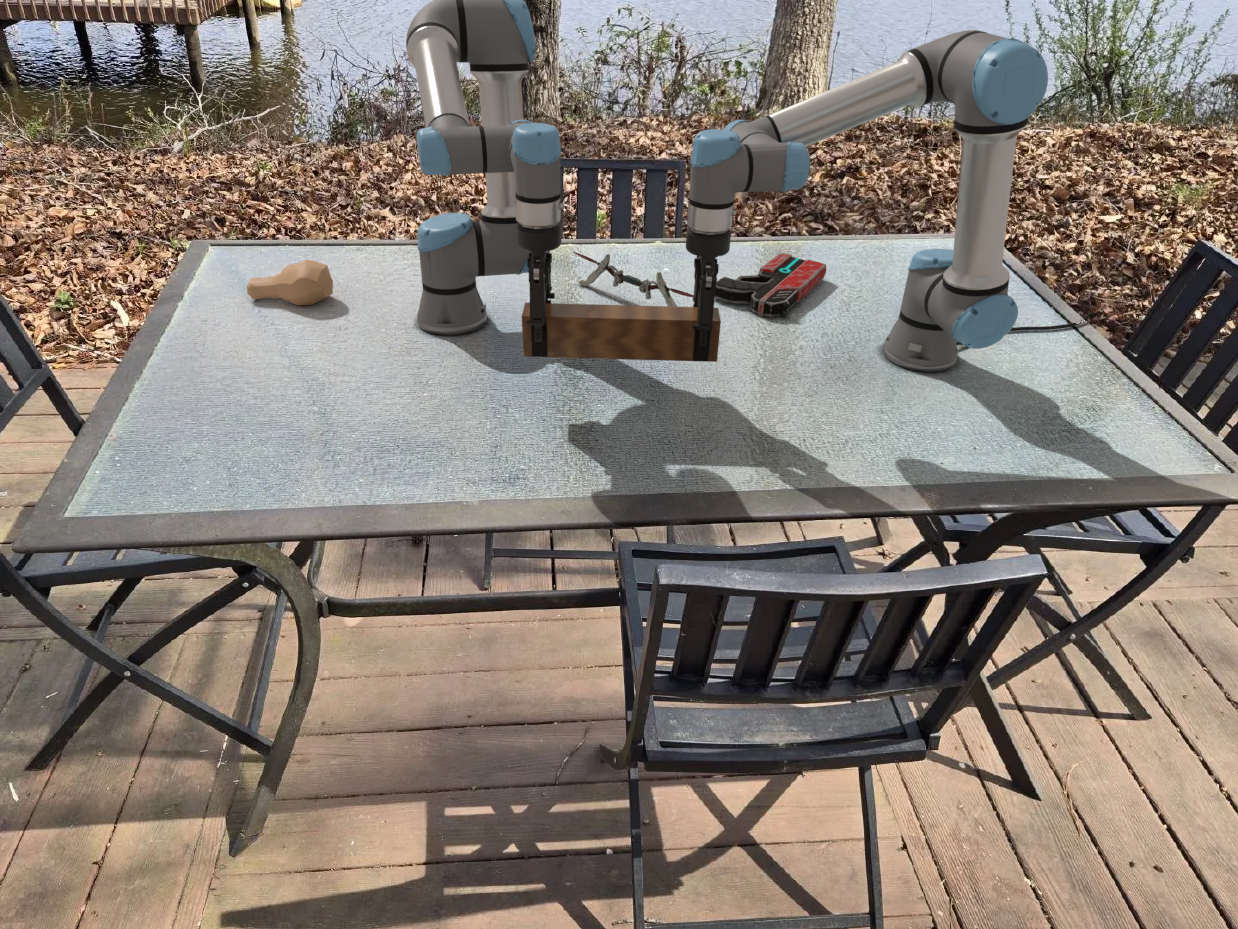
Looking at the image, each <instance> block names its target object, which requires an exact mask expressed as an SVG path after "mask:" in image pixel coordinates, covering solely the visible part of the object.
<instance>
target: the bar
mask: <svg viewBox="0 0 1238 929" xmlns="http://www.w3.org/2000/svg"><path fill="white" fill-rule="evenodd" d="M697 308H698V307H693V306H677V307H671V306H668V305H665V306H664V305H639V306H637V305H634V304H631V305H630V304H629V305H627V304H592V303H591V304H587V303H582V304H581V303H553V302H551V303H546V322H547V353H548V355H547V357H546V358H554V359H555V358H556V359H587V360H589V359H592V360H593V359H595V360H630V361H631V360H633V361H638V360H639V361H669V362H694V361H693V350H694V337H695V329H692V325H696V324H697ZM529 320H530V302H525V303H524V305H523V310H522V314H521V332H522V353H523V358H533V357H532V340H531V325H530V324H527V321H529ZM721 322H722V320H721V315H720V310H719V307H714V310H713V323H712V326H713V328H712V330H711V333H710V345H709V356H708V361H703V363H704V362H710V363H711V362H712V363H717V362H718V355H719V354H718V353H719V345H720V334H721V324H722V323H721Z"/></svg>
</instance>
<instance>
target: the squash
mask: <svg viewBox="0 0 1238 929" xmlns="http://www.w3.org/2000/svg"><path fill="white" fill-rule="evenodd" d="M333 289H334V280H333V277H332V276H331V272H330V268H329V266H328V264H325V263H322V262H319V261H316V260H311V259H305V260H302V261H300V262H297V263H291V264H288V265H286V267H284V268H283V269H282V270H281V272H279V273H277V274H275V275H274V276H266V277H252V278H249V281H248V283H247V285H246V292H247V295H248V296H249V297H250V298H251V299H252V300H260V299H271V298H276V299H281V300H284V301H286V302H288V303H291V304H293V305H295V306H312V305H314V304H316V303H318V302H320V301H322V300H325V299H327V298H328V297H329V296H331V295H333V294H334V292H333V291H334V290H333Z"/></svg>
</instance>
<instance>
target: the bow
mask: <svg viewBox="0 0 1238 929" xmlns="http://www.w3.org/2000/svg"><path fill="white" fill-rule="evenodd" d="M573 254H574V255H577V256H578V257H580V258H582V259H584V260H586V261H588V262H590V263H593V264H596V265H597V268H595V270H593V271H592V272H591V273H590V274H589V275H588V276H587V278H586V280H583V279H582V280H579V281H578V284H579V285H580V286H583V287H589V288H591V289H593V290H596V291H599V292H600V293H604V294H606V295H609V296H612V297H614V298H617V299H619V300H621V301H625V302H626V303H629V304H631V305H633V306H640V305H638V304H636V303H634V302H631V301H628V300H626V299H623V298H621V297H618V296H616V295H613V294H611V293H609V292H606V291H604V290H601V289H598V288H596V287H593V286H590V285H591V284H594V283H595V281H596V280H597V279H598V278H599V277H600V276H601V275H602V274H603V273H604V272H606V271H607V272H608V273H609V274H610V275H611V276H612V277H613V282H612V287H613V288H616V287H619V285H621V284H624V283H628V284H630V285H633V286H636V287H638V290H639V292H640V293H642V294H645V295H644V296H645V298H644V299H645V300H651V299H652V293H651V291H653V290H659V292H660V293H661V295H662V297H663V298H664V301H665V303H666V306H671V307H678V305H677V303H676V302H675V300H674V298H673V297H672V295H671V293H670V292H672V293H674V294H678V295H680V296H684V297H688V298H693V297H694V294H692V293H689V292H685V291H683V290H681V289H677V288H672V287H671V288H670V287H668V285H667V282H666V281H665V279H664V278H663V274H662V271H657V272H656V278H655V279H656V281H655V280H651V281H650V280H649V278H646V279H645V280H641V279H640V278H637V277H635V276H632V275H629V274H626V275H625V274H624V270H623V269H620V270H618V269H617V268H616V267H615V266H614V265H612V264H611V265H610V262H611V254H610V253H607V254H605V255H604V258H603V259H602V260H601V261H600V262H598V261H596V260H595V259H593V258H591V257H589V256H588V255H587V256H586V255H584V254H582V253H579V252H576V251H573Z"/></svg>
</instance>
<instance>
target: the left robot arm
mask: <svg viewBox="0 0 1238 929" xmlns="http://www.w3.org/2000/svg"><path fill="white" fill-rule="evenodd" d="M535 38H536V37H535V32H534V25H533V21H532V17H531V13H530V10H529V8H528V5H527V3H526V2H525V1H524V0H431V1H429V2H428V3H426V4H425V5H424V6H422V7H421V9H419V10H418V12H417V13H416V15H414V17H413V19H412V20H411V22H410V24H409V27H408V28H407V32H406V38H405V46H406V54H407V58H408V61H409V62H410V64H411V65H412V66H413V68H414V69H415V73H416V79H417V86H418V91H419V98H420V103H421V107H422V114H423V120H424V128H420V129H418V130H417V132H416V146H417V155H418V162H419V168H420V172H422V173H423V174H425V175H426V176H443V177H447V176H455V175H459V176H460V175H473V174H484V175H485V189H486V205H485V206H484V207H483V208H482V210H481V211H480V217H481V218H480V220H477V221H475V220H474V221H473V218H472V217H471V216H470V215H469V214H468V213H464V212H447V213H442V214H441V213H440V214H437V215H434V216H431V217H429V218H427V219H426V220H424V221H423V222H421V224H419V226H418V227H417V228H418V229H414V230H413V234H416V235H417V247H416V248H417V251H418V252H419V253H418V254H419V263H420V275H421V284H422V292H421V297H420V302H419V305H418V310H417V315H416V318H417V325H418V326H419V328H420V329H421V330H423V331H424V332H427V333H430V334H433V335H440V336H459V335H465V334H469V333H473V332H476V331H477V330H480V329H481V328H483V327H484V326H485V325H486V323H487V320H488V316H487V304H486V303H485V304H484V302H483V299H482V298H481V295H480V293H479V291H478V288H477V278H476V277H490V276H503V275H504V276H506V275H517V276H520V275H522V274H528V284H529V303H530V320H529V321H527V324H530V325H531V340H532V357H531V358H548V357H547V355H548V353H547V322H546V303H552V300H555V297H556V293H555V292H552V290H553V286H552V262H553V253H551V251H553V250H554V251H555V250H556V249H558V248H560V246H561V245H562V224H561V223H560V222H561V220H562V211H561V210H564V209H565V204H564V203H563V202H561V200H562V198H561V197H562V195H561V194H562V193H561V192H562V190H561V155H562V146H561V139H560V138H561V135H560V131H559V129H558V128H557V127H556V126H555V125H552V124H548V123H543V122H532V121H530V120H527V119H524V107H523V91H522V90H523V89H522V81H523V79H524V78H525V77H526V75H527V74H528V73H529V63H532V62H535V61H536V56H537V53H536V39H535ZM457 63H460V64H461V63H466V64H467V63H468V64H469V72H470V74H471V76H473V77H474V78H475V79H476V80H477V82H478V93H479V106H480V118H481V125H478V126H471V124H470V120H469V115H468V111H467V106H466V102H465V101H466V100H465V97H464V96H465V95H464V92H463V87H462V84H461V79H460V74H459V70H458V65H457Z"/></svg>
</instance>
